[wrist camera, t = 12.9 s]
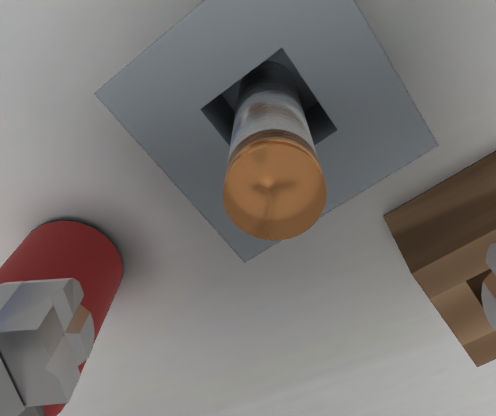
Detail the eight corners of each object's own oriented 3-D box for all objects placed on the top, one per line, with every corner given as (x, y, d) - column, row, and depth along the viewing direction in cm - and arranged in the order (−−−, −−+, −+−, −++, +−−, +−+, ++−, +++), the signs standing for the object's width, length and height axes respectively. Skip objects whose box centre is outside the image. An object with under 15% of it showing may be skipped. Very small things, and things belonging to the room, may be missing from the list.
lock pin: (306, 95, 23) (346, 206, 13) (261, 127, 24) (263, 256, 13) (273, 48, 22) (288, 126, 12) (228, 83, 23) (201, 186, 12)
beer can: (26, 205, 29) (-109, 346, 18) (131, 228, 29) (59, 377, 19) (24, 287, 32) (-93, 448, 21) (119, 306, 32) (51, 473, 22)
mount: (557, 240, 29) (624, 302, 24) (440, 299, 31) (477, 366, 26) (508, 143, 26) (571, 189, 21) (383, 216, 29) (411, 273, 23)
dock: (394, 100, 25) (438, 145, 19) (248, 196, 28) (244, 262, 22) (291, -71, 22) (304, -84, 15) (135, 60, 25) (94, 93, 18)
